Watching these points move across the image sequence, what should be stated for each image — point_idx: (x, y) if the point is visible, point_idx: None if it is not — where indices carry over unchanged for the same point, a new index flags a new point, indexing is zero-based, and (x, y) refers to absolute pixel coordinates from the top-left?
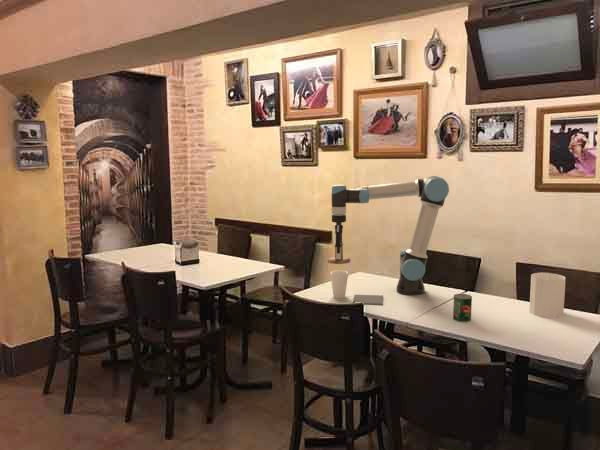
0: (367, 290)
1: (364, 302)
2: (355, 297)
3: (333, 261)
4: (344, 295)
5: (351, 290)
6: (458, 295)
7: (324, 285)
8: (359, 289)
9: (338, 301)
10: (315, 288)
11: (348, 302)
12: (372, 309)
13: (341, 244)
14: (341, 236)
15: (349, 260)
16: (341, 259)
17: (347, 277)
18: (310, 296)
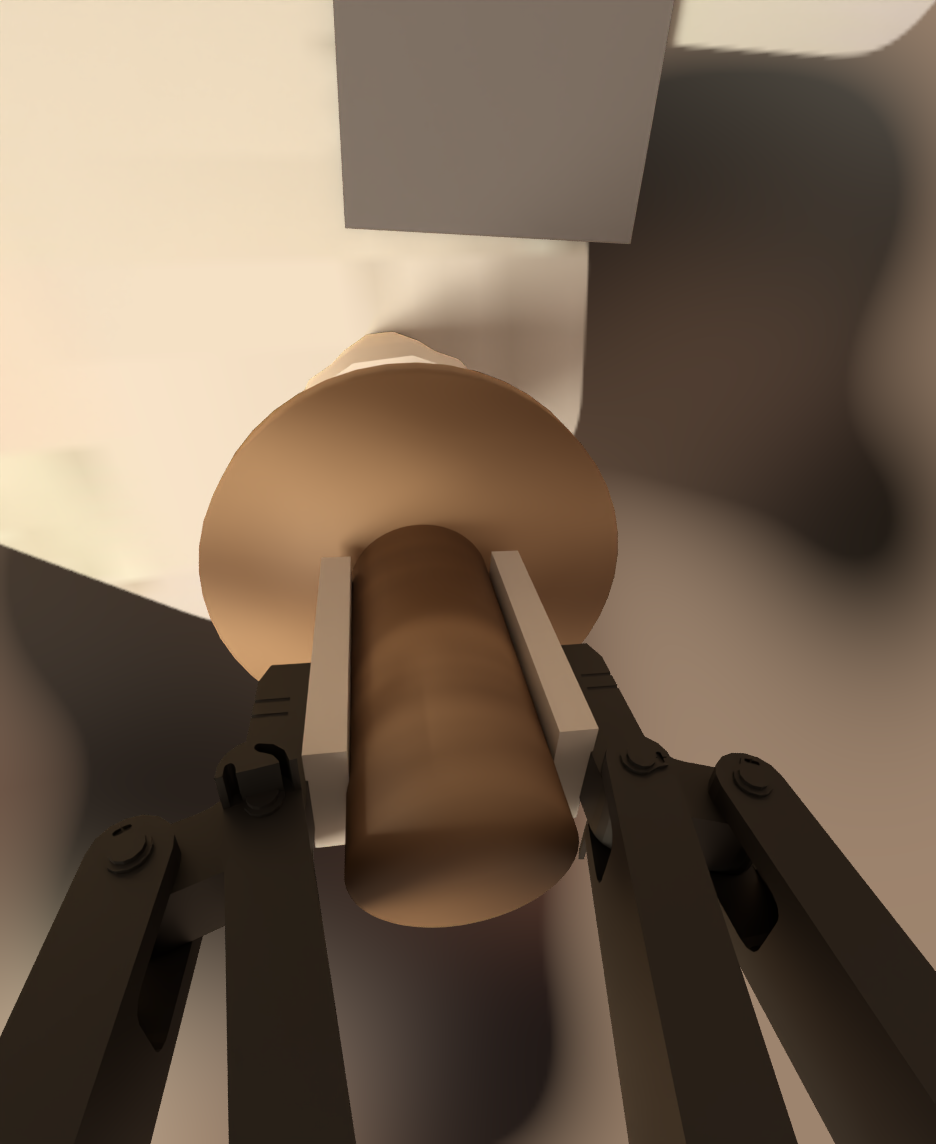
0: (56, 26)
1: (632, 101)
2: (455, 214)
3: (587, 634)
4: (416, 340)
5: (137, 269)
6: None
7: (49, 555)
8: (51, 158)
9: (545, 383)
10: (183, 606)
11: (577, 288)
12: (826, 5)
13: (547, 786)
14: (337, 1140)
15: (492, 385)
16: (470, 542)
17: (429, 349)
18: None
